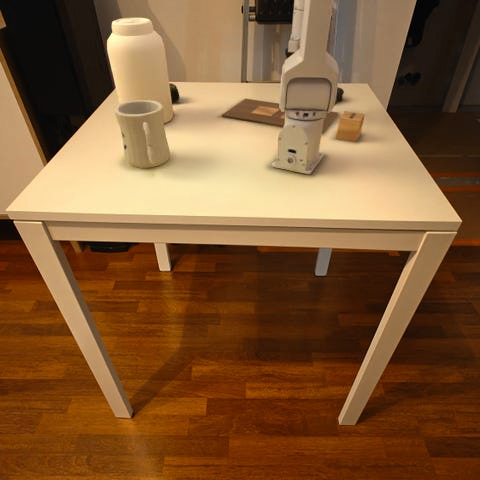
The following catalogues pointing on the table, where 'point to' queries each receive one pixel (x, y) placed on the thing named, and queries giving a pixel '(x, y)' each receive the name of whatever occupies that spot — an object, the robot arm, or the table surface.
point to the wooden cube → (350, 126)
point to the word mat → (265, 113)
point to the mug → (143, 133)
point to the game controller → (339, 93)
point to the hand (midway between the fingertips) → (300, 82)
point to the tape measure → (174, 92)
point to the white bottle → (139, 63)
